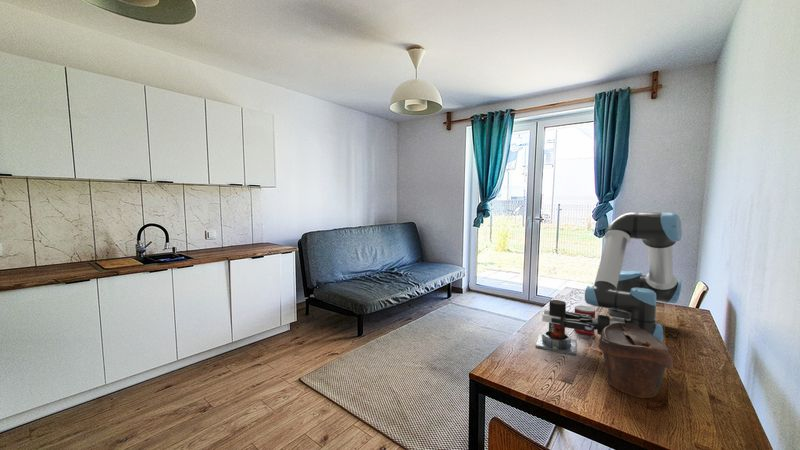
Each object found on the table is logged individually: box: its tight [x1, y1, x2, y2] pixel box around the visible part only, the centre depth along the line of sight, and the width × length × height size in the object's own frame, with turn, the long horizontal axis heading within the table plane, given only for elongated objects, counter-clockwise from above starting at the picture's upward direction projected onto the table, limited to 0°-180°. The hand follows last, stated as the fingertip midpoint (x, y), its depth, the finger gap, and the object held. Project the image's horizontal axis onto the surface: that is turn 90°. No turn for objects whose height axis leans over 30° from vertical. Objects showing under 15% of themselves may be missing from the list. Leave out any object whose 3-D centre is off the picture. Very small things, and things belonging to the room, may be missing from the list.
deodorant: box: [548, 299, 567, 339], centre depth 127 cm, size 6×6×15 cm
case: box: [598, 323, 675, 399], centre depth 98 cm, size 18×20×18 cm
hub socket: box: [535, 329, 577, 356], centre depth 128 cm, size 14×14×4 cm
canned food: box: [573, 305, 596, 336], centre depth 141 cm, size 8×8×11 cm
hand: (543, 315), depth 130 cm, fingers closed on deodorant, 6 cm apart
